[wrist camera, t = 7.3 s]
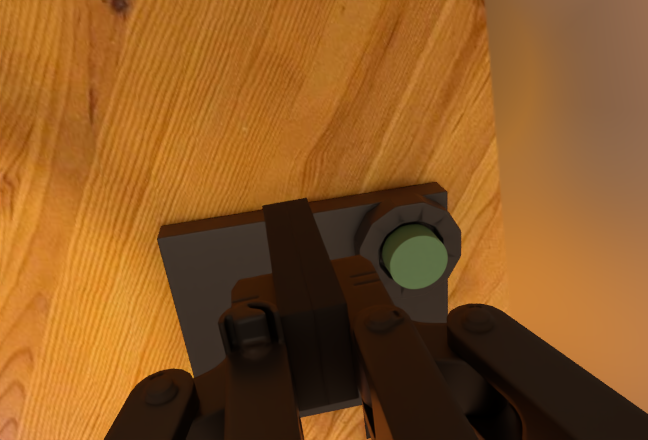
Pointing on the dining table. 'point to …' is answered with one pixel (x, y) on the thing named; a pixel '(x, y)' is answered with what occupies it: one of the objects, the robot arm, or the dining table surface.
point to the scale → (254, 260)
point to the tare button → (414, 256)
